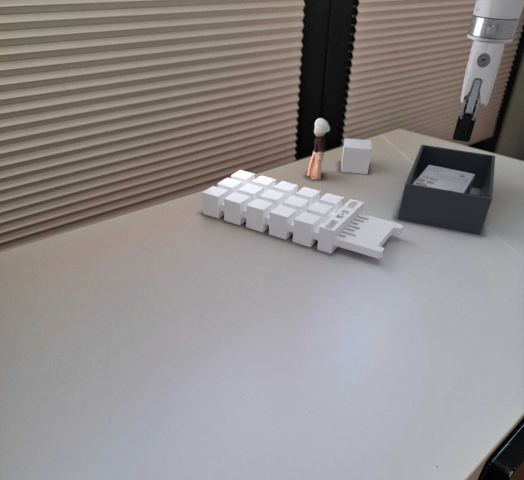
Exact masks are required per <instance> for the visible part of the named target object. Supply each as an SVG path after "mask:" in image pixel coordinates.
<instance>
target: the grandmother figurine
mask: <svg viewBox="0 0 524 480" xmlns="http://www.w3.org/2000/svg"><path fill="white" fill-rule="evenodd" d="M313 128H314V129H313V133H314V135H315V138H314V143H313V145H314V147H313V151H312V155H311V157H310V160H309V165H308V168H307V173H306V176H307V177H308V178H309V179H311V180H313V181H314V180H322V177H321V176H322V163H323V160H324V157H325V151H326V141H325V140H326V139H325V135H326V133H329V132H330V131H331V126H330V125H329V122H328V121H327V120H326V119H324V118H322V117H318V118H317V119H316V120H315V122H314V127H313Z"/></svg>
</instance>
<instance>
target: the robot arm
mask: <svg viewBox="0 0 524 480" xmlns="http://www.w3.org/2000/svg"><path fill="white" fill-rule="evenodd" d="M523 8H524V0H475V5H474V8H473V12H472V14H471V15H472V16H471V18H470V19H471V20H470V24H469V28H468V31H467V35H466V38H467V39H470V40H472V44H471V48H470V52H469V55H468V59H467V64H466V68H465V72H464V77H463V82H462V87H461V92H460V93H461V94H460V103H461V104H462V108H461V110H460V115H458V117H457V121H456V124H455V127H454V131H453V135H452V140H453V141H458V142H463V143H464V142H465V143H469V142H470V141H471V139H472V134H473V131H474V127H475V124H476V120H477V118H476V117H477V113H478V109H479V106H480V105H483V108H484V107H487V106H488V105H489V102H490V100H491V99H490V98H491V95H492V92H493V88H494V85H495V81H496V78H497V76H498V73H499V69H500V66H501V62H502V58H503V54H504V50H505V46H506V44H509V43H513V42H514V38H515V34H516V31H517V29H518V25H519V22H520V18H521V16H522V13H523Z"/></svg>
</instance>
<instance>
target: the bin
mask: <svg viewBox="0 0 524 480" xmlns="http://www.w3.org/2000/svg"><path fill="white" fill-rule="evenodd" d="M428 165H433V166H438V167H443V168H448V169H452V170H457V171H462V172H467V173H472V174H475V179H474V182H473V185H472V188H477V189H481V192H480V195H479V194H478V195H477V194H471V193H469V194H466V193H461V192H455V191H449V190H443V189H437V188H431V187H426V186H420V185H414V184H413V183H414V182H415V181H416V179H417V178H418V177H419V176H420V175H421V174H422V172H423V171H424V170H425V169H426V168H427V167H428ZM495 165H496V155H493V154H488V153H487V154H485V153H479V152H472V151H468V150H467V151H466V150H460V149H453V148H448V147H447V148H446V147H441V146H434V145H427V144H420V147H419V150H418V152H417V155H416V156H415V159H414V162H413V164H412V167H411V168H410V171H409V174H408V177H407V179H406V181H405V184H404V188H403V193H402V198H401V202H400V207H399V211H398V215H397V220H398V221H405V222H409V223H416V224H419V225H426V226H430V227H436V228H441V229H447V230H452V231H458V232H461V233H462V232H463V233H466V234H467V233H468V234H473V235H479V236H480V235H481V233H482V230H483V227H484V224H485V220H486V218H487V215H488V212H489V210H490V207H491V204H492V201H493V193H494V181H495V167H496V166H495Z"/></svg>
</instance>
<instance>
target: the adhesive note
mask: <svg viewBox="0 0 524 480" xmlns="http://www.w3.org/2000/svg"><path fill="white" fill-rule="evenodd" d="M343 141H344V142H343V147H342V155H341V164H340V172H341V173H352V174H363V175H365V174H366V175H368V174H369V168H370V162H371V157H372V150H373V147H372V140H371V139H359V138H349V137H345V138H344V140H343Z"/></svg>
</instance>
